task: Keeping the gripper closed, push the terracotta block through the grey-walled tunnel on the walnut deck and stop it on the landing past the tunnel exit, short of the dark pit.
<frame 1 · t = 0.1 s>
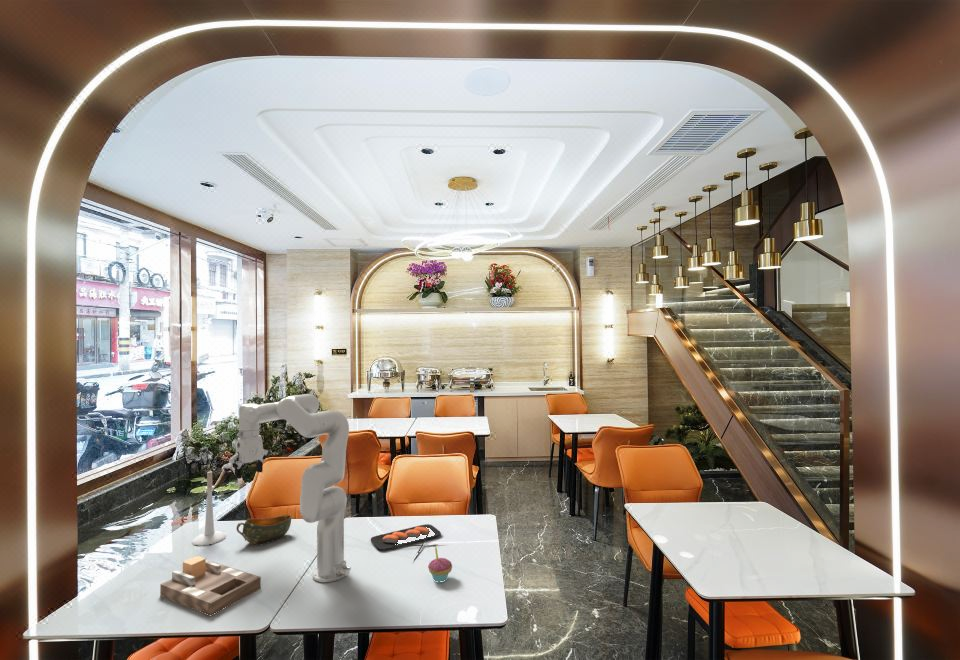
hand: (249, 475, 190), 31 cm above the table, tool pointing down, fingers open, 9 cm apart
deck: (211, 592, 158), on the table
cupcake: (440, 580, 165), on the table
block: (194, 574, 162), point 4 cm above the table, touching deck
sushi plate: (413, 547, 193), on the table
candlestick: (209, 540, 201), on the table
green gravy boat: (265, 540, 200), on the table
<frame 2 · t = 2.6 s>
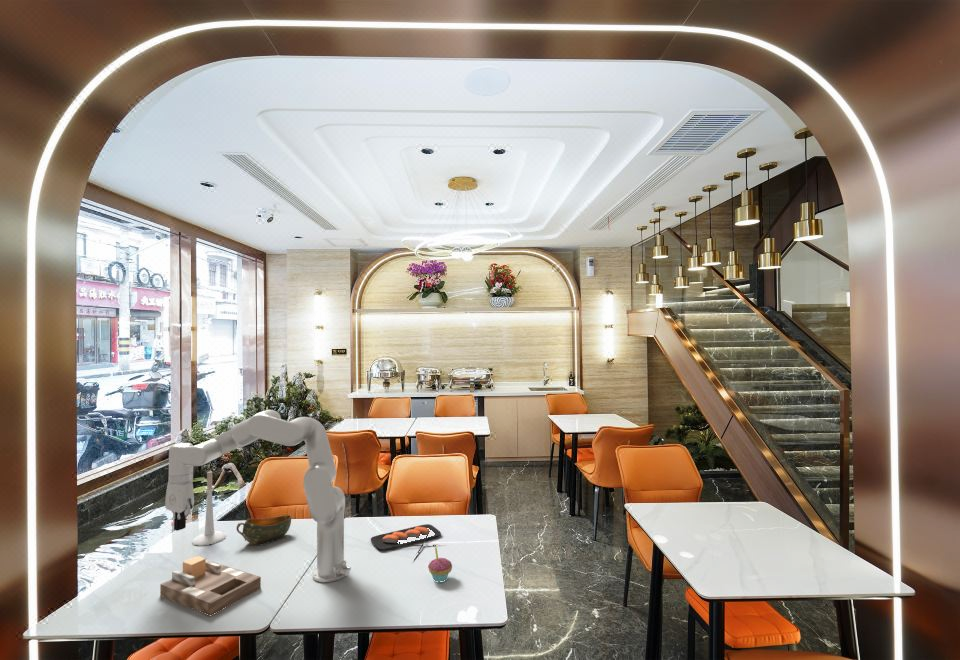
hand: (179, 528, 166), 19 cm above the table, tool pointing down, fingers closed
nothing on the table moved.
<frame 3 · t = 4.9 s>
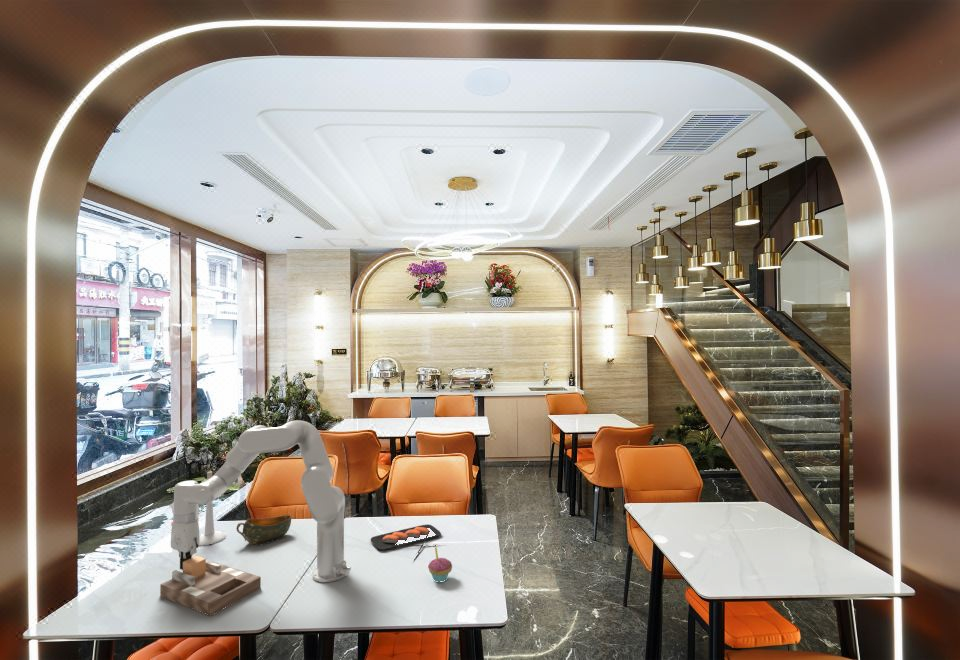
hand: (185, 568, 164), 5 cm above the table, tool pointing down, fingers closed
block: (194, 574, 162), point 4 cm above the table, touching deck, gripper
everything else where it was.
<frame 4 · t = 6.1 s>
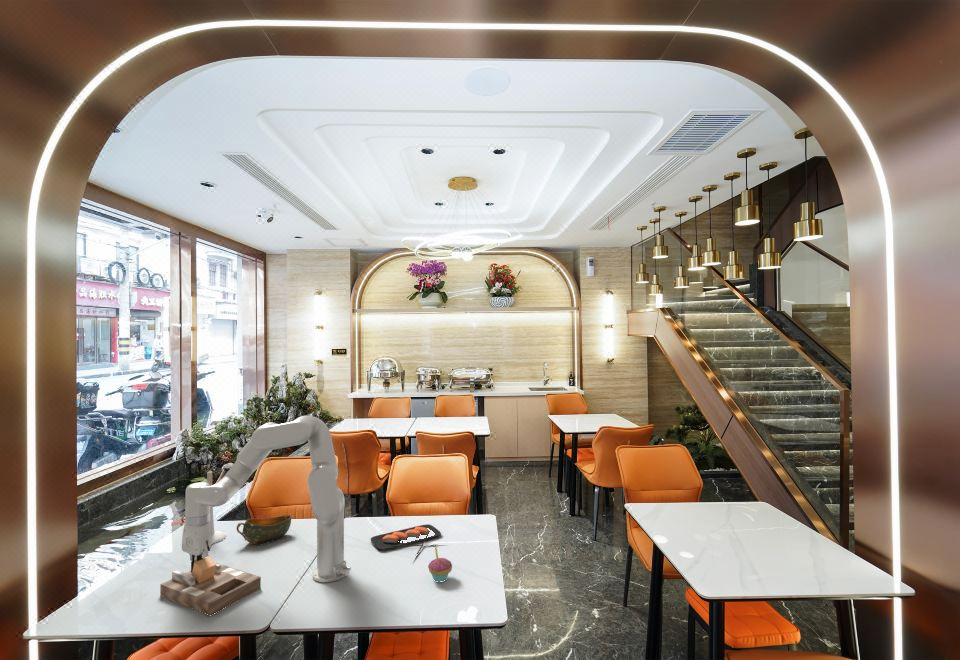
hand: (196, 571, 161), 5 cm above the table, tool pointing down, fingers closed
block: (202, 575, 159), point 5 cm above the table, tilted 20°, touching deck, gripper
everything else where it was.
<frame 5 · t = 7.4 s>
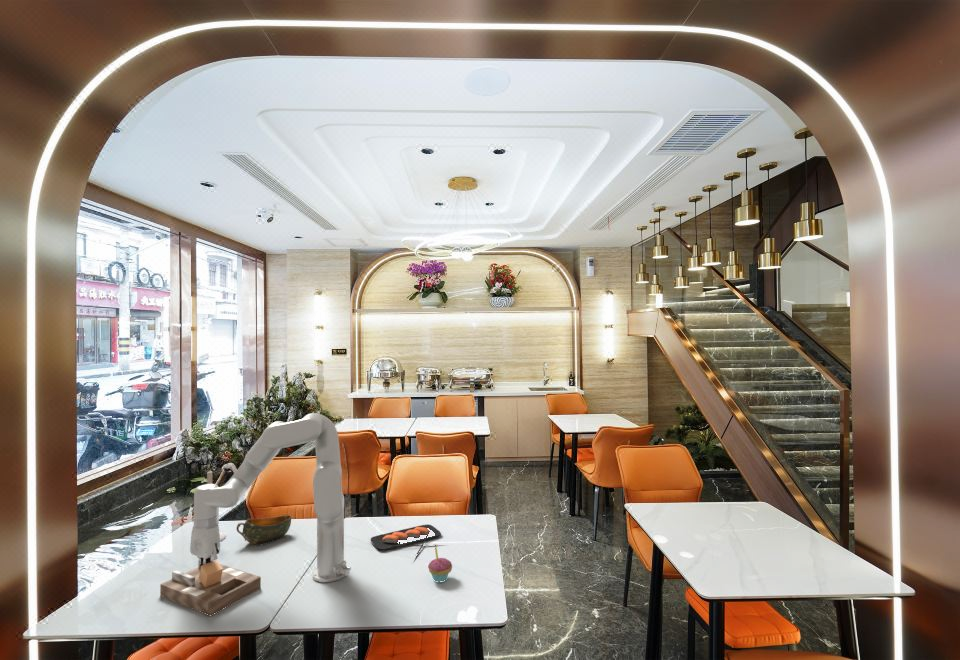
hand: (205, 574, 159), 6 cm above the table, tool pointing down, fingers closed
block: (209, 579, 157), point 5 cm above the table, tilted 20°, touching gripper
everything else where it was.
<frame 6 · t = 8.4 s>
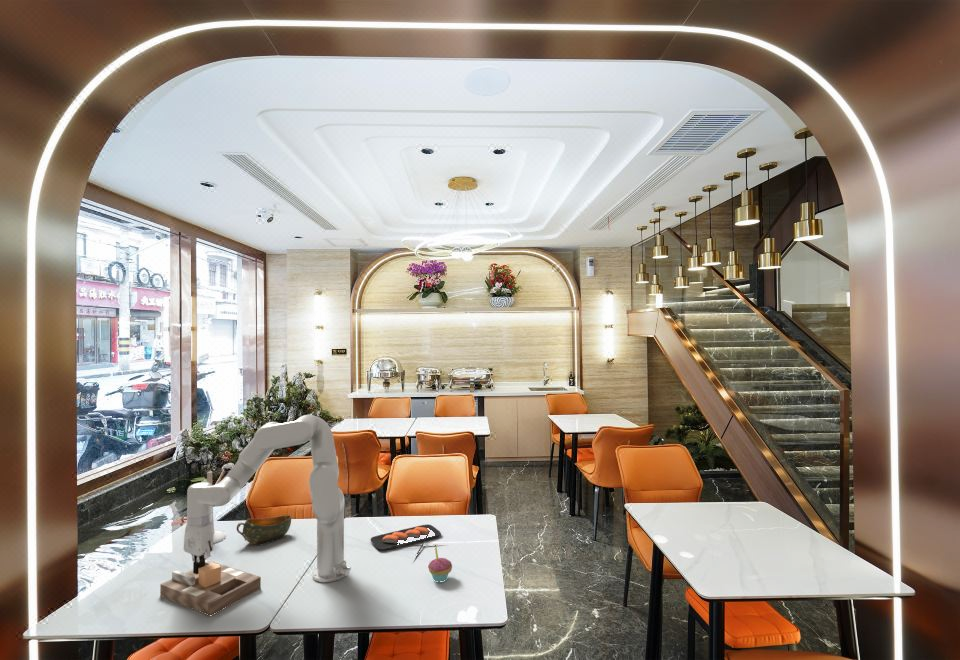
hand: (199, 571, 161), 6 cm above the table, tool pointing down, fingers closed
block: (209, 582, 157), point 4 cm above the table, touching deck
everything else where it was.
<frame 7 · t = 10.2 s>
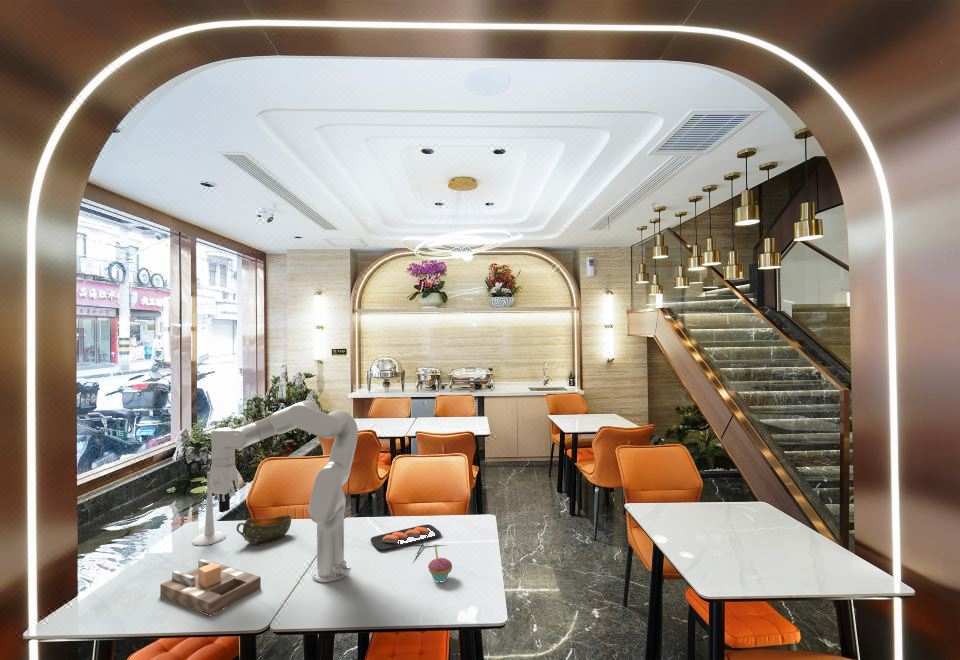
hand: (224, 510, 170), 24 cm above the table, tool pointing down, fingers closed
nothing on the table moved.
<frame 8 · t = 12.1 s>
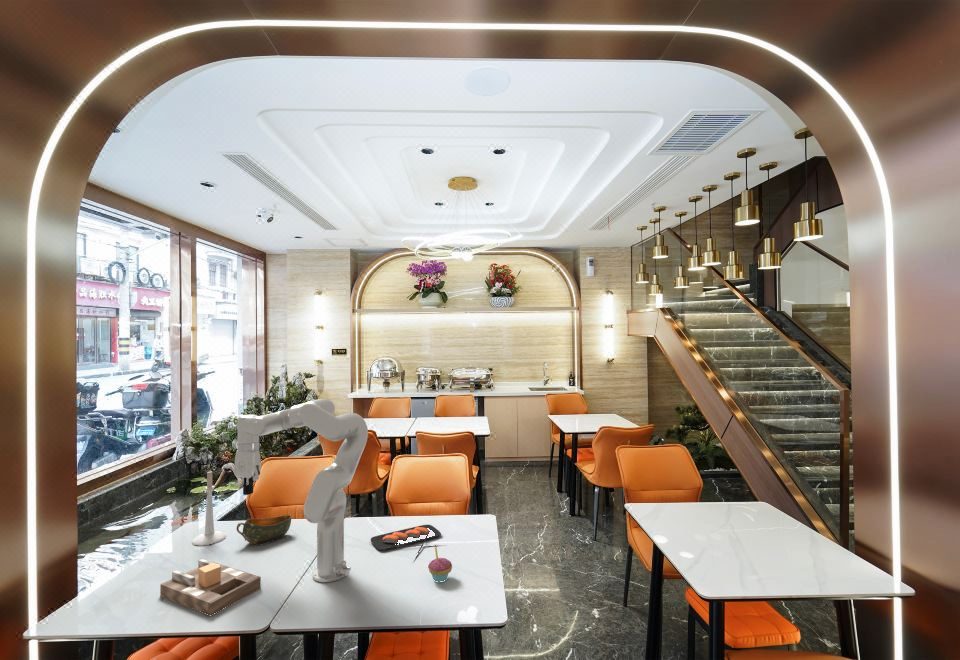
hand: (248, 493, 178), 27 cm above the table, tool pointing down, fingers closed
nothing on the table moved.
at the end: block 1.3 cm from the target spot, point 4.0 cm above the table; block tilted 0° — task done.
